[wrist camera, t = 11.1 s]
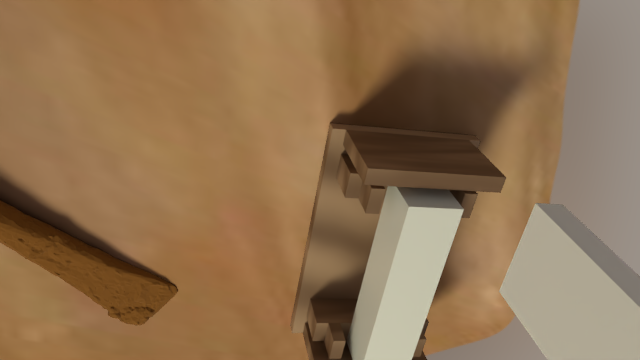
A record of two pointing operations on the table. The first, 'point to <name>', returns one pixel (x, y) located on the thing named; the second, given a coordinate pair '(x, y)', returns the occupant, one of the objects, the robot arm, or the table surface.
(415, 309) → the strip
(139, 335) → the table surface
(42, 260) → the primitive tool
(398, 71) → the table surface
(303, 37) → the table surface
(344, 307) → the rack
